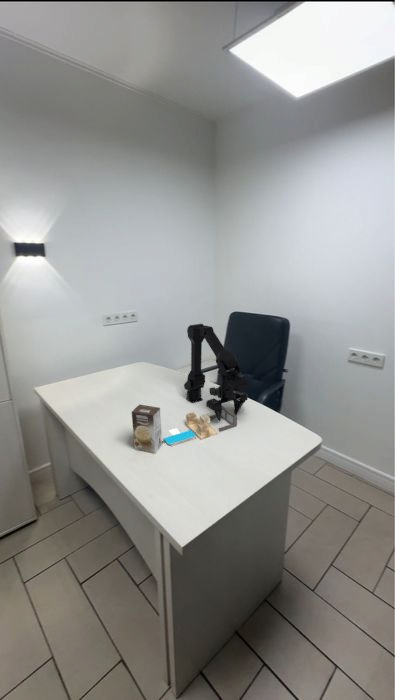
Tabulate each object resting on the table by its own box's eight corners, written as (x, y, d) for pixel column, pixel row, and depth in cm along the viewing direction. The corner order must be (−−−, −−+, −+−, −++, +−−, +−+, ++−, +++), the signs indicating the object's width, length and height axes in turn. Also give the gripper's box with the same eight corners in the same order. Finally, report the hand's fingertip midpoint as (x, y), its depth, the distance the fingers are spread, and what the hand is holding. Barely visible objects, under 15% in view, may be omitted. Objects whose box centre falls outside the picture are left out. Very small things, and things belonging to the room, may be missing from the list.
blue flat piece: (193, 424, 135) (193, 421, 135) (207, 437, 125) (207, 433, 125) (150, 437, 126) (149, 433, 126) (161, 452, 116) (160, 448, 116)
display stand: (200, 419, 138) (200, 409, 137) (217, 434, 126) (217, 423, 125) (184, 424, 134) (184, 414, 133) (200, 439, 123) (200, 428, 121)
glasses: (221, 414, 142) (221, 404, 140) (236, 426, 132) (236, 415, 130) (205, 419, 138) (205, 409, 137) (220, 431, 128) (220, 420, 126)
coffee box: (133, 449, 117) (130, 411, 113) (142, 440, 123) (138, 404, 119) (155, 454, 114) (152, 414, 110) (163, 444, 120) (160, 407, 116)
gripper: (232, 374, 143) (232, 405, 147) (198, 384, 133) (199, 416, 138) (248, 382, 134) (248, 414, 138) (213, 392, 124) (214, 427, 129)
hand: (227, 417), depth 136 cm, fingers open, 9 cm apart
